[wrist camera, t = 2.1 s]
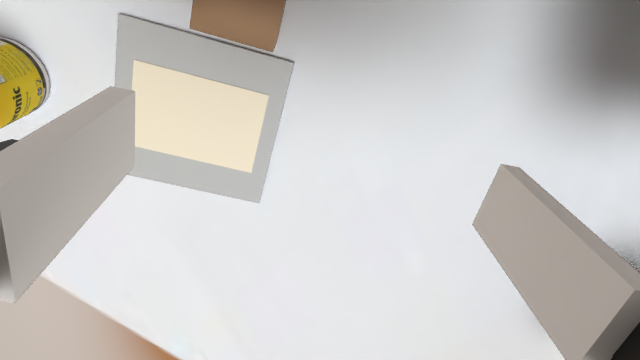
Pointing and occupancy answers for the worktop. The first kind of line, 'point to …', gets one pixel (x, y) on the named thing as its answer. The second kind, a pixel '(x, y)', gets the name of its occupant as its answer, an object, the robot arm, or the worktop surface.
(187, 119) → the mat
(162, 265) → the worktop surface
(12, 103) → the supplement bottle
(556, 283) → the robot arm
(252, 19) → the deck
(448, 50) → the worktop surface
